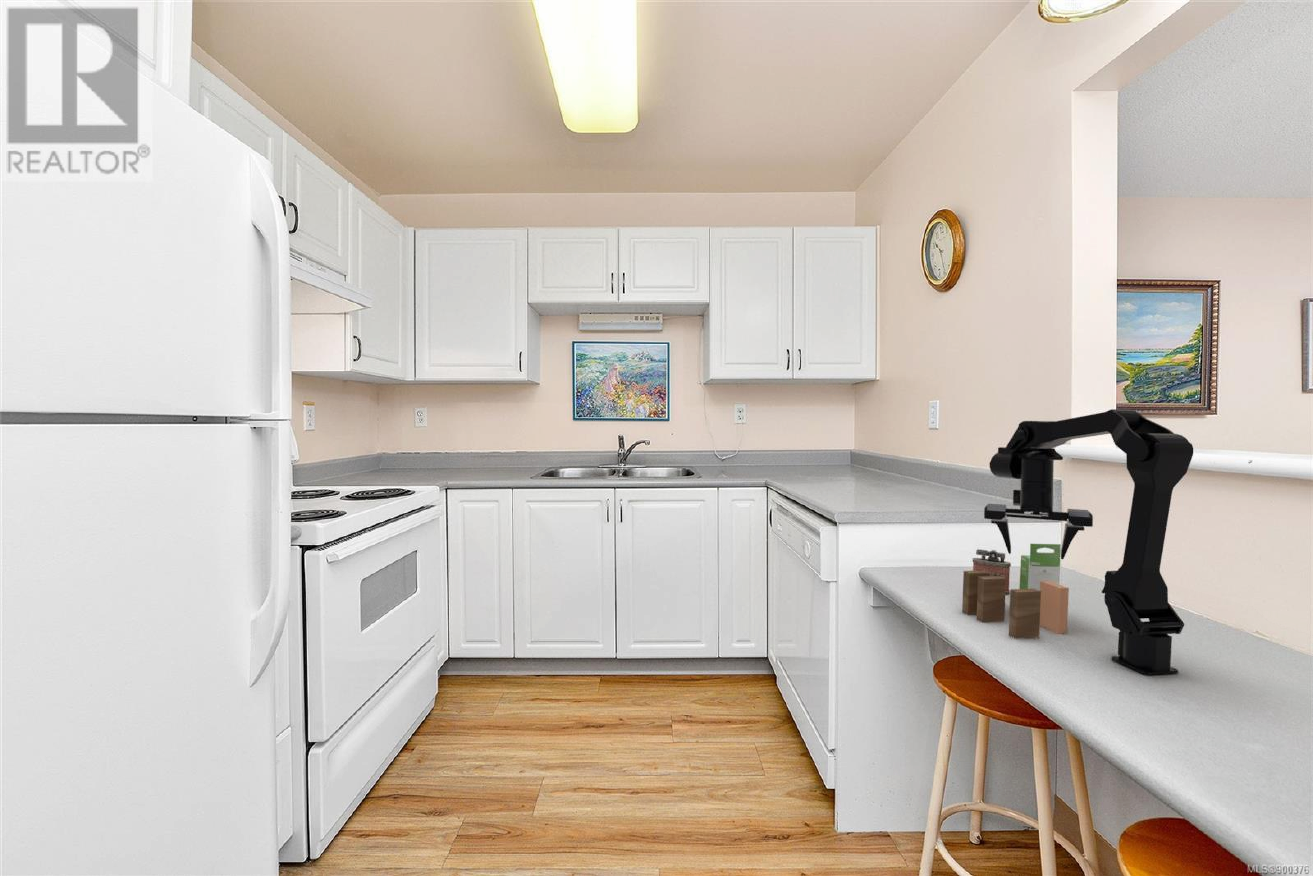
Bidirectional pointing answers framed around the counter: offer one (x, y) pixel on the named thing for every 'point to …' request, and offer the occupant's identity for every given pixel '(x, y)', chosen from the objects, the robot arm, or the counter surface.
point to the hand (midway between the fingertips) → (1035, 556)
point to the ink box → (1040, 566)
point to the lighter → (993, 565)
